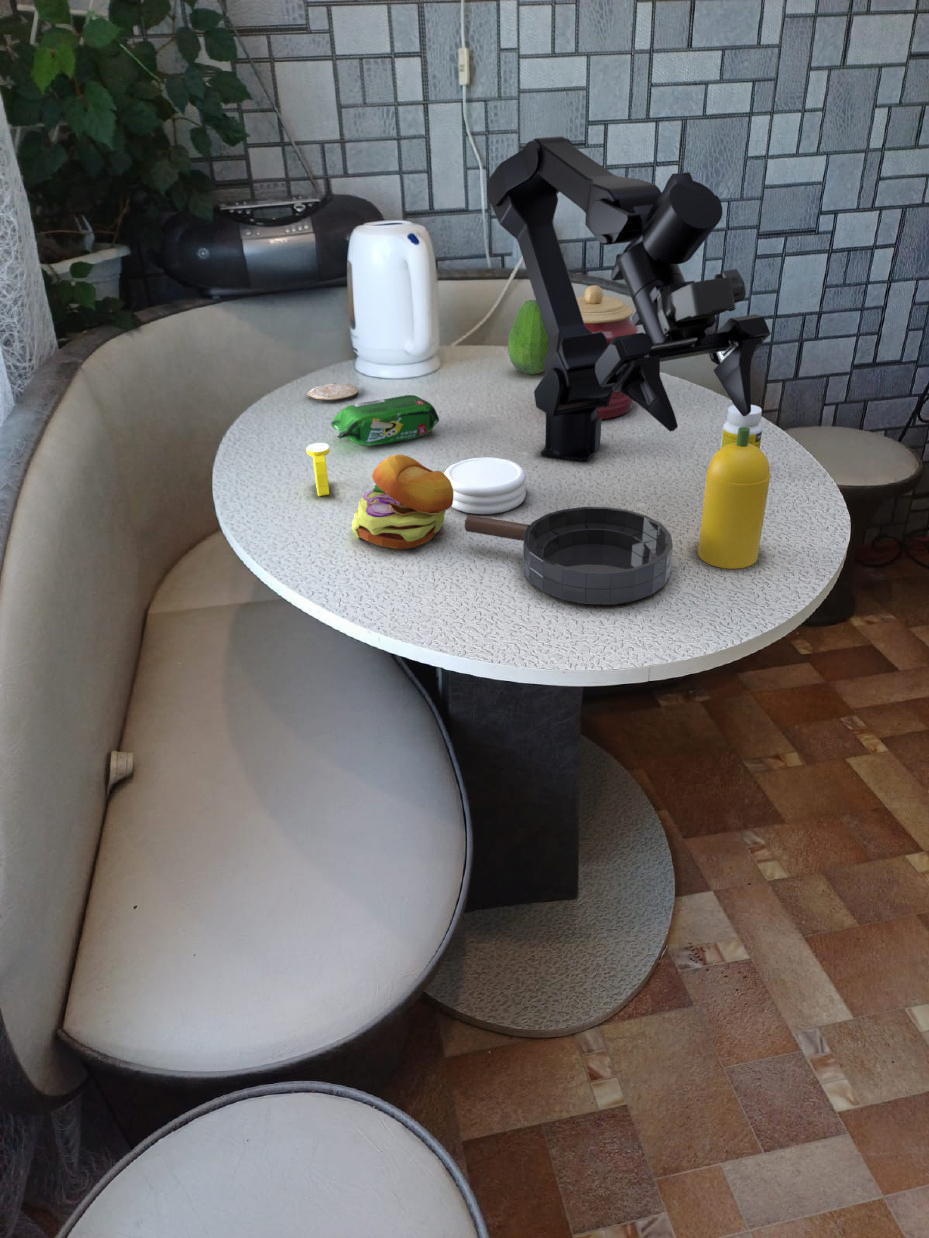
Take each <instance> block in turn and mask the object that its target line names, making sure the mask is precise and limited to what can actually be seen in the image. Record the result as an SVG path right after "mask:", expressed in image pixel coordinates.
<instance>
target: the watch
mask: <svg viewBox="0 0 929 1238" xmlns="http://www.w3.org/2000/svg"><path fill="white" fill-rule="evenodd" d="M305 450H306V454H307V455H308V456H309V457H312V462H313V463H312V464H313V471H314V478H315V485H316V491H317V496H318V497H322V496H329V495H330V487H329V478H328V470H327V469H328V467H327V461H326V456H327V455H329V453H330V451H331V449H330V445H329V444H327V443H325V442H315V443H312V444H309V445H307V446H306V449H305Z"/></svg>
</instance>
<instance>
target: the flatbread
mask: <svg viewBox="0 0 929 1238" xmlns="http://www.w3.org/2000/svg"><path fill="white" fill-rule="evenodd" d="M359 392H360V389H359V387H357V385H354V384H352V383H341V382H339V383H336V382H330V383H327V384H323V385H320V386H315V387H312V388H311V389H310V390H309V391H308V392H307V394H306V395H307V396H308V397H311V398H312V399H315V400H325V401H333V400H341V399H346V398H350V397H352V396H355V395H356V394H358V393H359Z"/></svg>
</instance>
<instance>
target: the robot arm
mask: <svg viewBox="0 0 929 1238" xmlns="http://www.w3.org/2000/svg"><path fill="white" fill-rule="evenodd" d="M559 193H561V194H562V195H563V196H564V197H566V198H567V199H568V200H570V202H571V203H573V204H575V205H576V206H577V207H579V208H580V209H581V211H583V212H584V214H585V224H584V225H585V227H586V228H587V229H588V230H589V232H590V233H591V234H592V236H594V238H595V239H596V241H598V242H599V243H600V244H601V245H603V246H611V245H617V244H619V245H620V244H624V243H625V244H626V243H628V244H627V245H626V247H625V248H624V249H623V251H622V252H621V253H618V254H616V255H615V261H614V262H615V263H614V265H613V267H612V269H611V273H610V274H611V275H610V279H611V281H614V282H615V281H616V282H617V281H622V280H624V282H625V285H626V288H627V290H628V293H629V296H630V298H631V300H632V303H633V305H634V308H635V312H634V313H633V314H632V315H631V321H633V323H634V326H642V328H643V330H644V332H637V333H636V334H630V335H624V336H618V337H614V338H613V340H612V341H611V342H610V344H609V345H608V344H607V339H606V337H605V335H604V334H603V333H602V332H597V333H592V332H591V331H590V330H588V329H587V328H586V326H585V324H584V321H583V318H582V315H581V312H580V308H579V305H578V302H577V299H576V297H577V296H576V293H575V290H574V289H575V288H574V287H573V283H572V280H571V277H570V273H569V271H568V268H567V265H566V260H565V258H564V255H563V252H562V249H561V246H560V243H559V239H558V236H557V232H556V230H555V225H554V218H555V214H556V212H557V211H556V210H557V207H558V203H559V197H558V194H559ZM486 195H487V200H488V202H489V204H490V205H491V208H492V211H493V213H494V214H495V217H496V220H497V221H498V224H499V225H500V226H501V227H502V228H503V229H504V230H505V231H506V232H508V233H509V234H510V235H511V236H512V237H514V238H515V240H516V241H517V243H518V247H519V250H520V254H521V257H522V259H523V263H524V267H525V269H526V273H527V276H528V279H529V281H530V285H531V288H532V292H533V296H534V298H535V300H536V301H537V305H538V308H539V311H540V314H541V317H542V321H543V324H544V327H545V330H546V333H547V337H548V340H549V346H548V350H547V353H546V357H545V361H544V376H543V377H542V379H541V380H540V382H539V383H538V384H537V386H536V387H535V389H534V390H533V395H534V401H535V407H536V408H537V409H538V410H540V411H542V412H544V414H545V439H544V441H545V442H544V443H545V444H544V445H545V447H543V449H542V450H541V451H540V456H542V457H547V458H555V459H560V460H561V459H562V460H569V461H577V462H588V461H589V460H590V458H591V457H592V456H593V455H594V454H595V453H596V452H597V451H598V450H599V448H600V447H601V438H602V437H601V436H602V419H601V418H600V417H598V407H607V406H609V402H610V399H611V395H612V392H613V390H614V392H618V391H620V392H622V393H624V394H625V395H626V396H628V397H629V398H630V399H632V400H633V401H632V402H634V403H636V404H637V405H638V406H640V407H641V408H642V409H644V411H646V412H647V413H648V414H650V416H652V418H653V419H655V420H656V421H657V422H659V424H661V425H662V426H663V427H664V428H665V429H666V430H668V431H669V432H674V431H676V430H677V429H678V422H677V417H676V414H675V411H674V409H673V406H672V403H671V401H670V398H669V396H668V393H667V391H666V388H665V386H664V384H663V381H662V378H661V363H663V362H667V361H674V360H680V359H686V358H690V357H697V356H703V355H707V354H708V356H709V359H710V361H711V362H712V363H714V364H716V365H717V366H715V368H713V373H714V374H715V376H716V378H717V379H718V381H719V382H720V384H721V386H722V387H723V388H724V390H725V392H726V394H727V395H728V397H729V399H730V400H731V402H732V403H733V404H732V405H735V407H736V408H737V410H738V411H739V412H740V413H741V415H742V416H747V415H748V414H749V413H750V412H751V405H752V394H751V393H752V392H751V387H752V386H751V371H752V360H753V357H754V355H755V353H756V352H757V351H758V350H759V349H760V348H761V347H762V346H763V344H764V343H763V342H764V341H766V340H767V339H768V337H770V336H771V335H772V332H771V330H770V329H769V326H768V323H767V321H766V318H765V317H764V316H762V315H759V314H756V313H754V314H748V315H742V316H735V317H729V319H728V320H727V321H726V322H724V324H723V325H722V326H721V327H720V328H719V329H718V330H717V332H715V333H714V332H713V333H708V334H707V332H706V330H707V329H709V328H712V327H713V326H714V325H715V324H716V322H717V321H718V320H717V318H716V316H718V315H719V314H722V313H725V312H734V311H735V310H736V304H737V303H739V302H742V301H744V300H745V299H746V298H745V297H746V295H747V291H746V286H745V281H744V280H743V278H742V275H741V274H740V272H739V270H738V269H737V268H735V269H728V270H723V271H722V272H721V273H717V274H715V275H714V278H711V279H704V280H699V281H695V280H689V281H686V280H685V277H684V275H683V272H682V269H681V268H680V265H682V264H684V263H687V262H688V261H690V260H691V259H692V257H693V256H694V255H695V254H696V253H697V251H698V250H699V249H700V247H701V246H702V245H703V244H704V242H705V241H706V240H707V239H708V237H709V236H710V235H711V234H712V232H713V231H714V230H715V228H716V227H717V226H718V225H719V223H720V222H721V220H722V217H723V205H722V201H721V199H720V198H719V196H718V195H716V194H715V193H714V192H713V191H712V190H711V189H710V188H708V186H706V185H705V184H702V183H700V182H699V181H696V180H694V179H693V177H692V175H691V172H690V171H687V172H686V171H685V172H675V173H671V175H670V176H669V178H668V180H667V182H666V184H665V186H664V188H663V190H662V191H661V189H660V188H659V186H658V185H657V184H654V183H652V182H649V181H646V180H643V179H640V178H635V177H625V176H619V175H616V174H614V173H612V172H611V171H609V170H608V169H607V168H605V167H604V166H602V165H601V164H599V163H598V162H596V161H595V160H594V159H592V158H590V156H588V155H587V154H586V153H583V152H582V151H581V150H579V149H578V148H577V147H575V146H574V145H573V144H572V141H571V140H570V139H569V138H568V137H567V138H566V137H565V136H562V135H559V136H557V135H556V136H546V137H535V138H533V139H531V140H529V141H528V142H527V143H526V144H525V146H524V147H523V148H522V149H521V150H519V151H518V152H516V153H514V154H513V155H511V156H509V157H508V158H506V159H505V160H503V161H502V162H500V163H499V165H498V166H497V167H496V168H495V170H494V171H493V173H492V174H491V175H490V176H489V178H488V180H487V184H486Z"/></svg>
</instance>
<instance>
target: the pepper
mask: <svg viewBox="0 0 929 1238" xmlns="http://www.w3.org/2000/svg"><path fill="white" fill-rule="evenodd" d="M749 433H750V429H749V428H746V427H741V428H739V429H738V436H737V442H736V443H731V444H728V445H726V446H724V447H722V448H721V449H720V448H719V449H718V450H717V451H716V452H715V453H714V455H713V456H712V458H711V460H710V461H709V465H708V468H707V470H706V475H705V486H704V495H703V502H702V503H703V504H702V512H701V522H700V530H699V539H698V548H697V555H698V557H699V559H700V560H702V561H703V562H704V563H706V564H708V565H710V566H713V567H716V568H720V569H729V570H737V569H744V568H745V569H746V568H748V567H750V566H753V565H754V564H756V562H757V561H758V557H759V551H760V546H761V538H762V531H763V527H764V526H763V525H764V520H765V519H764V518H765V513H766V512H765V511H766V505H767V499H768V492H769V486H770V480H771V473H770V463H769V460H768V458H767V456H766V455H765V453H764V452H763V451H762V450H761V449H759V448H757V447H756V446H754V445H752V444H749V443H748V440H749Z"/></svg>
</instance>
